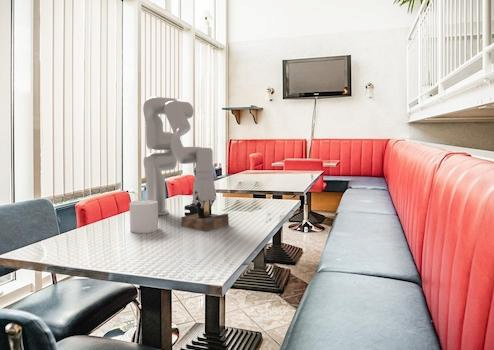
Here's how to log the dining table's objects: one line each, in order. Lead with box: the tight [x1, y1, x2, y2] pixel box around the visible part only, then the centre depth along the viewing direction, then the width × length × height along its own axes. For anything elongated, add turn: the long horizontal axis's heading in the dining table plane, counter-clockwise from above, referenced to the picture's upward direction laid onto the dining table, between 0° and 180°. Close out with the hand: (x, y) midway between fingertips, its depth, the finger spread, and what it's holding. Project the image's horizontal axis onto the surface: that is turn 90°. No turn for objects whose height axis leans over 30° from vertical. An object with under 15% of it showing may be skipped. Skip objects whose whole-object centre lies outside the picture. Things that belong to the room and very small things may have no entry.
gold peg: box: [200, 200, 209, 219], centre depth 172 cm, size 4×4×10 cm
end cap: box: [184, 203, 198, 216], centre depth 191 cm, size 10×7×7 cm
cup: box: [129, 199, 159, 234], centre depth 165 cm, size 12×12×12 cm
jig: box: [180, 213, 230, 232], centre depth 173 cm, size 16×14×5 cm
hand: (204, 215), depth 173 cm, fingers closed on gold peg, 4 cm apart
